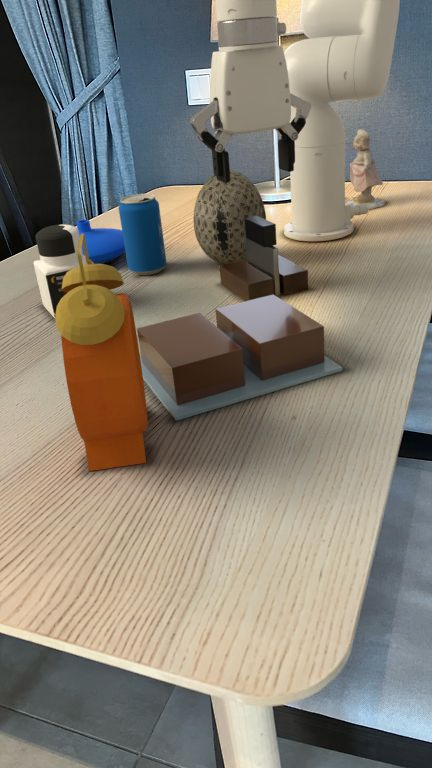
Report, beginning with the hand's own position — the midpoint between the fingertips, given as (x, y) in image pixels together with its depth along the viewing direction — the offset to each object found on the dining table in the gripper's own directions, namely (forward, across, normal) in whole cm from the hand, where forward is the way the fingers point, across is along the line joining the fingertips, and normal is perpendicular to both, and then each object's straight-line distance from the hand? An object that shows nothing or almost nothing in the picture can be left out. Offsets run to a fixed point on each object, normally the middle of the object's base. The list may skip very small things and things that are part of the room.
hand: (255, 175), depth 92 cm
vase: (+16, +19, -31) cm, 40 cm away
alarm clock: (+17, +30, +29) cm, 45 cm away
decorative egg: (+16, -1, -13) cm, 21 cm away
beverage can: (+16, +12, -19) cm, 28 cm away
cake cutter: (+16, 0, 0) cm, 16 cm away
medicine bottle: (+17, +27, -10) cm, 33 cm away
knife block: (+16, 0, 0) cm, 16 cm away
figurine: (+16, -38, -31) cm, 52 cm away
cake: (+17, +14, +21) cm, 30 cm away
